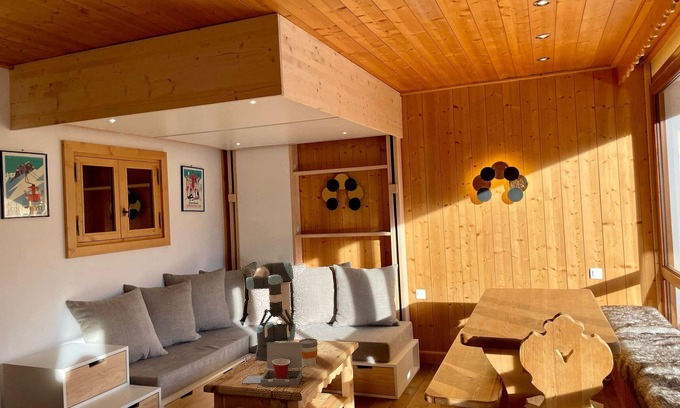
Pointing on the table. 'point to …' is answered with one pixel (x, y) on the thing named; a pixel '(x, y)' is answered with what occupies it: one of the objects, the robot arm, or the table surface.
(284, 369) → the plastic cup
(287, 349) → the lid
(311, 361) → the reusable coffee cup
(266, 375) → the case
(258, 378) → the mat
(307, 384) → the table surface
